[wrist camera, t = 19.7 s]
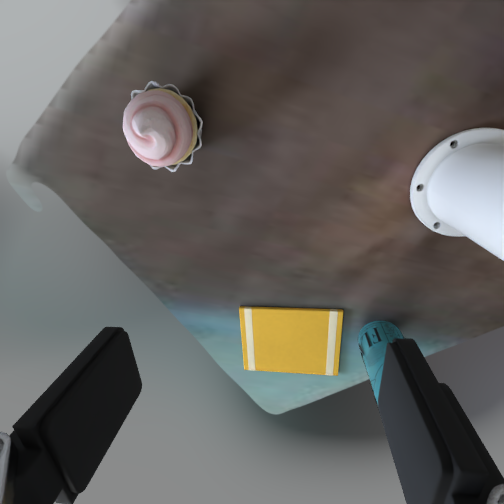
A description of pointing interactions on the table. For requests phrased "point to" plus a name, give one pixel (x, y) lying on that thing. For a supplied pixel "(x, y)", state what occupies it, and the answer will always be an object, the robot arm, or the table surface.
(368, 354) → the beverage bottle
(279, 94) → the table surface
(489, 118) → the table surface
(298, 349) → the towel
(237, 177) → the table surface
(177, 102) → the cupcake
